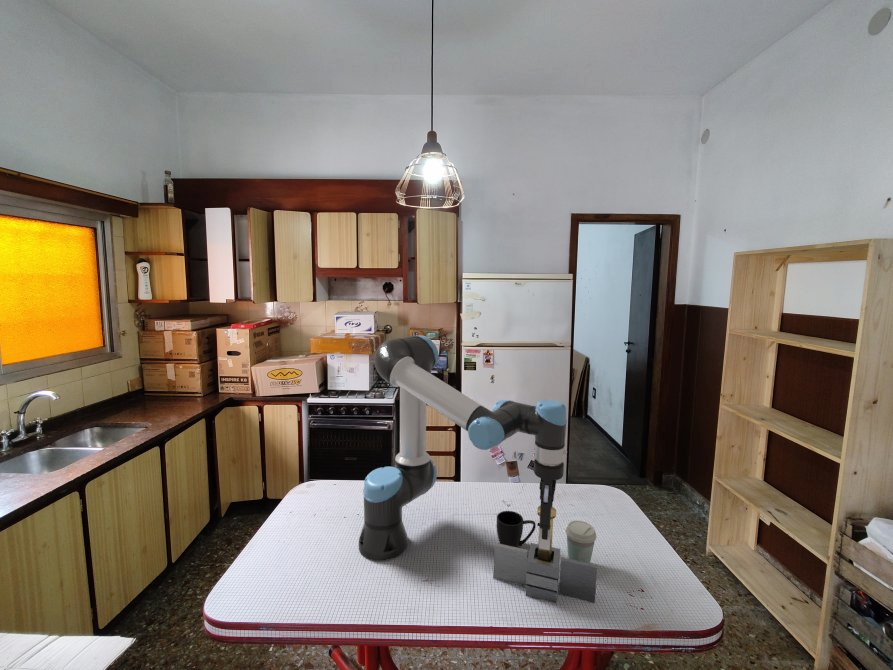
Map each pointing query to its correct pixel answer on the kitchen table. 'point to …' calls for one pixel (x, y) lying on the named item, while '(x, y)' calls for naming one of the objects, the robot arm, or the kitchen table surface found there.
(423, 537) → the kitchen table surface
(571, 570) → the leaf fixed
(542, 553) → the pin
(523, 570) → the grey piece
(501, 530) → the mug
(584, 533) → the coffee cup
